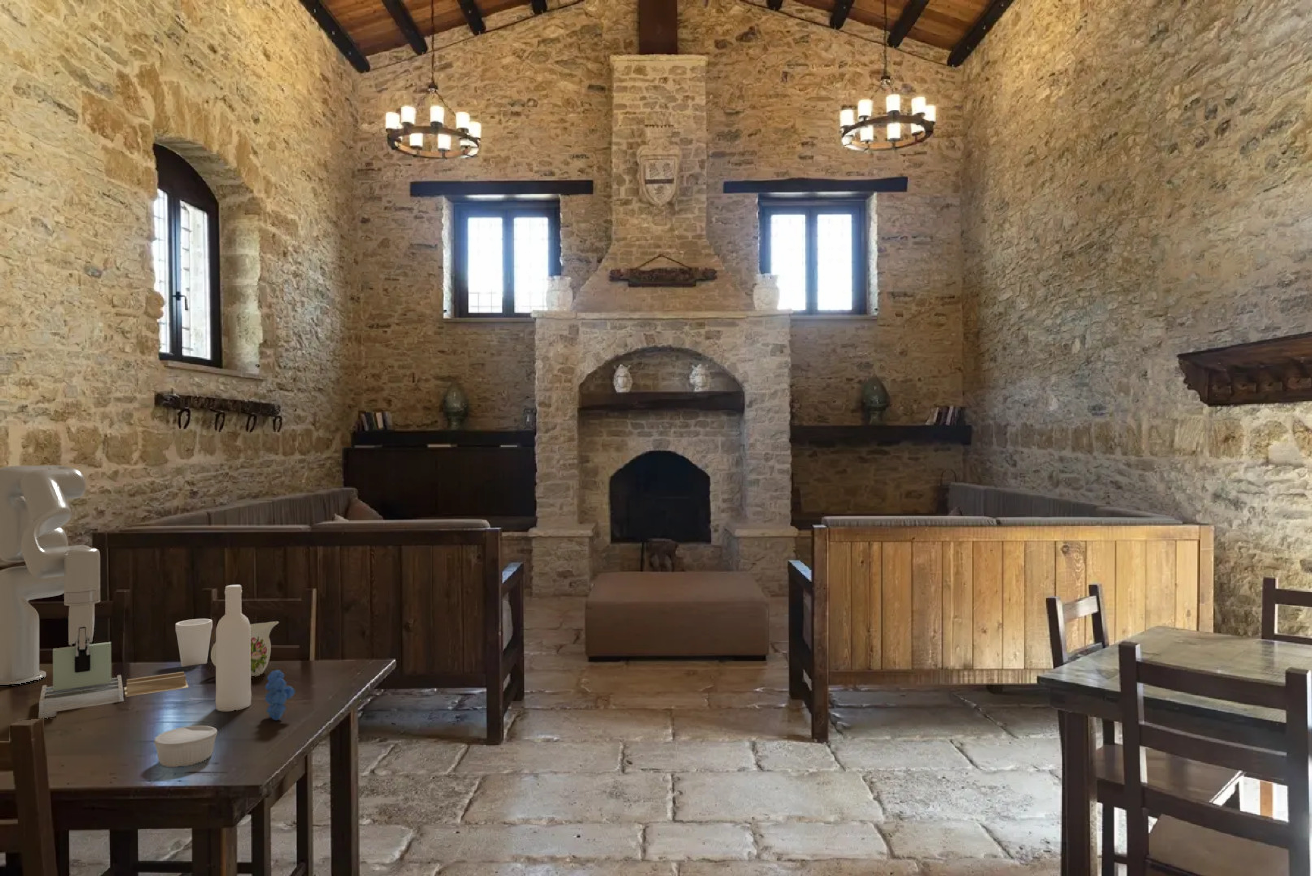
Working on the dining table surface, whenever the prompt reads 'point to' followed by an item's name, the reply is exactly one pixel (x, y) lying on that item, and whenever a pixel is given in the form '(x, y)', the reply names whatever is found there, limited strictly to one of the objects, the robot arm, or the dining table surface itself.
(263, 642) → the pitcher
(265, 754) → the dining table surface
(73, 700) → the rack
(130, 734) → the dining table surface
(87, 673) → the sage green plank
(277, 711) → the grapes
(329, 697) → the dining table surface
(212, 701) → the dining table surface
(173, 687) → the stand
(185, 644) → the foam cup
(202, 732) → the ramekin
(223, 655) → the bottle
